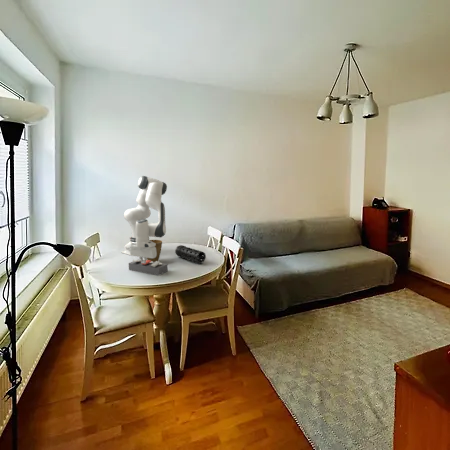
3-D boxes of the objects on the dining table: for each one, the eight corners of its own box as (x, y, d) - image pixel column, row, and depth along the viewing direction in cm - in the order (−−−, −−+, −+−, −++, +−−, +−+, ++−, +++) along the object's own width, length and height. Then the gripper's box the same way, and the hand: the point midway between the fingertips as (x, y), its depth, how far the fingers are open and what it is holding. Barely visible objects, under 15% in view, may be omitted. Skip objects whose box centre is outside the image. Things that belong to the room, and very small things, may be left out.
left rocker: (132, 262, 209) (132, 259, 209) (138, 261, 214) (138, 259, 214) (136, 263, 207) (136, 260, 207) (142, 262, 213) (142, 260, 213)
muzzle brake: (196, 266, 221) (196, 252, 219) (174, 258, 240) (173, 245, 238) (206, 263, 227) (206, 250, 225) (183, 255, 247) (183, 243, 245)
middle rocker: (141, 264, 206) (141, 262, 205) (147, 262, 211) (147, 259, 211) (145, 265, 204) (145, 263, 204) (151, 262, 210) (151, 260, 209)
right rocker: (151, 267, 203) (150, 264, 202) (156, 263, 208) (156, 260, 207) (155, 267, 201) (154, 265, 201) (160, 263, 206) (160, 261, 206)
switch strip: (128, 269, 211) (128, 262, 210) (138, 265, 220) (138, 258, 219) (158, 275, 200) (158, 267, 199) (167, 270, 209) (167, 263, 208)
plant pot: (166, 260, 233) (166, 240, 230) (153, 265, 220) (152, 244, 217) (152, 257, 240) (151, 238, 237) (138, 262, 227) (137, 242, 224)
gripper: (127, 242, 203) (128, 262, 205) (151, 245, 195) (152, 266, 197) (134, 241, 209) (134, 260, 211) (157, 243, 201) (158, 263, 203)
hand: (143, 263), depth 204 cm, fingers closed, pressing on middle rocker
